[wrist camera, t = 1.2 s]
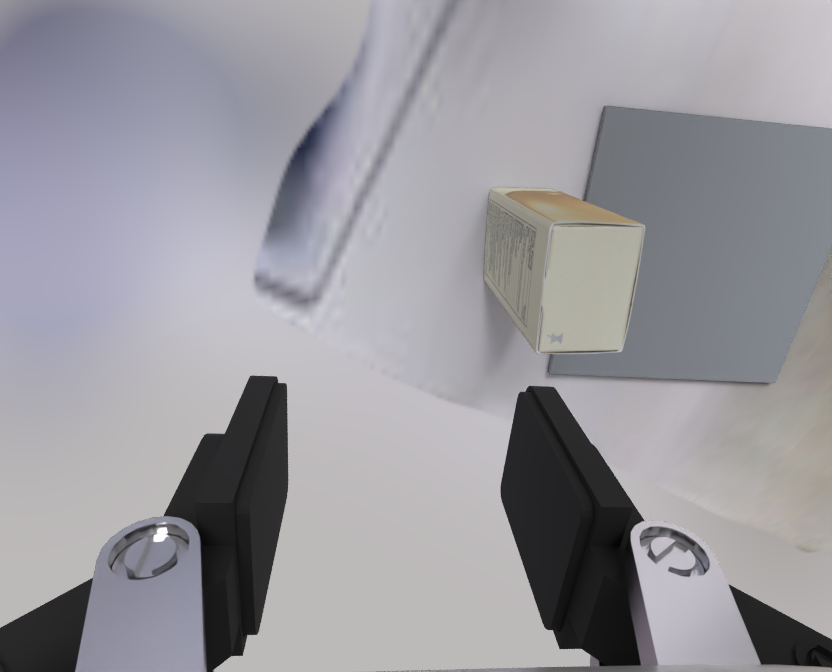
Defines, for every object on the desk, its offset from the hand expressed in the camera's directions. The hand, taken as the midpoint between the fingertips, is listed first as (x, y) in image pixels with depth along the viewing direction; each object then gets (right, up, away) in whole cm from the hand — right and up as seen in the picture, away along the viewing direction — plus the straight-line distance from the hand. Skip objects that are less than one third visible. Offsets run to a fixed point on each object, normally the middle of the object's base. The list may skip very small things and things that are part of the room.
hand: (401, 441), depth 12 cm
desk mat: (+20, +8, +24) cm, 32 cm away
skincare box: (+7, +9, +23) cm, 25 cm away
